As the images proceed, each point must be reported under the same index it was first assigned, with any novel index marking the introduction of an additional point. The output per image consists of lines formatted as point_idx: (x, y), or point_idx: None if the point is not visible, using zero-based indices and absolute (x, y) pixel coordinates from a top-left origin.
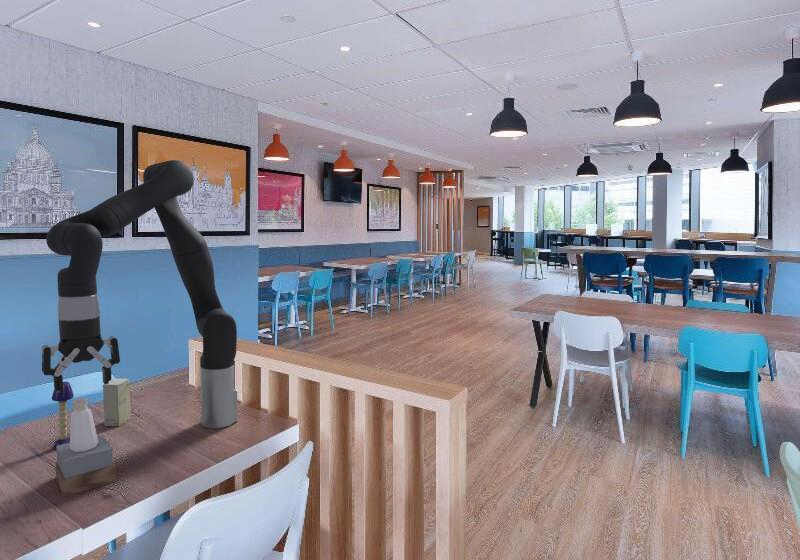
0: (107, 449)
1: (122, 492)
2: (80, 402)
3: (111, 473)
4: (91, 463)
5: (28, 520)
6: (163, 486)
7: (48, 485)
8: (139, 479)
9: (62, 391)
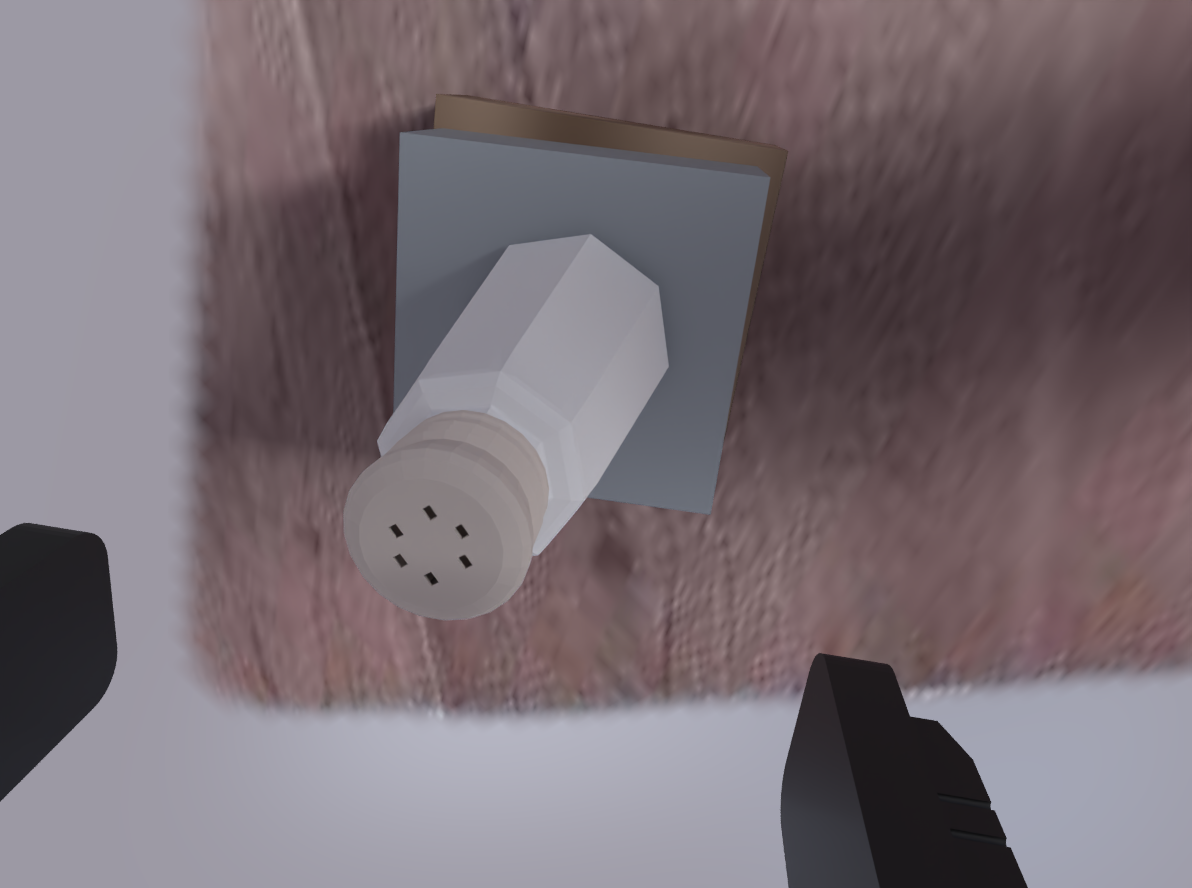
0: (677, 508)
1: (682, 576)
2: (424, 611)
3: None
4: None
5: (273, 497)
6: None
7: None
8: (812, 514)
9: (86, 698)
